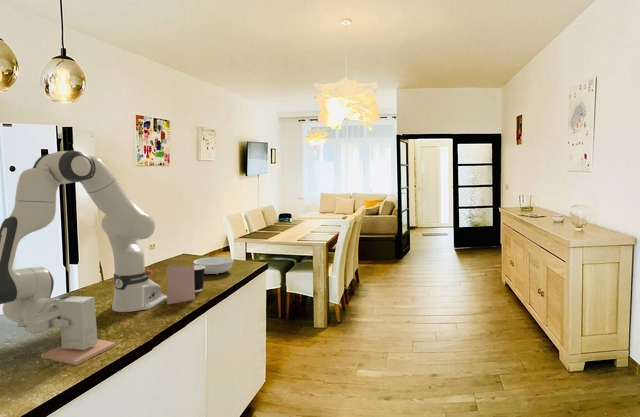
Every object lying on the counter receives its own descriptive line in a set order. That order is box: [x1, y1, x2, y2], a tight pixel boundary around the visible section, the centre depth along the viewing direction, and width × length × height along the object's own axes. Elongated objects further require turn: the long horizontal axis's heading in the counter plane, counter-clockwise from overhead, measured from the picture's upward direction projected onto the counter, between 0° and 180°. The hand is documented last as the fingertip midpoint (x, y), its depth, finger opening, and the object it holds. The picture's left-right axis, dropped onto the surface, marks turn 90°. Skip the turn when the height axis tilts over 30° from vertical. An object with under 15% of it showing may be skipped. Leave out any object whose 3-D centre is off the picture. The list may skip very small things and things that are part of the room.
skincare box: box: [59, 295, 98, 350], centre depth 126 cm, size 8×6×15 cm
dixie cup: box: [194, 265, 205, 293], centre depth 190 cm, size 8×8×11 cm
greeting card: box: [165, 264, 196, 305], centre depth 174 cm, size 11×7×15 cm, turn 89°
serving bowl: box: [192, 256, 234, 275], centre depth 223 cm, size 21×21×7 cm
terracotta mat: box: [40, 338, 117, 366], centre depth 127 cm, size 14×14×1 cm
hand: (80, 318), depth 126 cm, fingers closed on skincare box, 6 cm apart
